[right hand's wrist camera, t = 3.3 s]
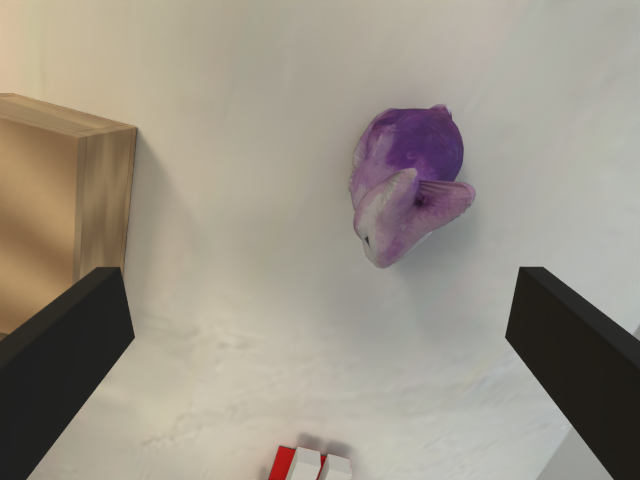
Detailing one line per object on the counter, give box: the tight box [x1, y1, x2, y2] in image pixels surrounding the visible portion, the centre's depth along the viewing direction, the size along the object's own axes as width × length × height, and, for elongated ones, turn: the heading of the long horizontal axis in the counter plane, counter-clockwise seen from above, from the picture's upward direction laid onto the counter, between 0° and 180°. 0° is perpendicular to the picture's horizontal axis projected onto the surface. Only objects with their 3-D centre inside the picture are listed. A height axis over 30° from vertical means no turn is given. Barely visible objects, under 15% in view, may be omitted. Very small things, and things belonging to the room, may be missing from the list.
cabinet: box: [0, 93, 137, 334], centre depth 32 cm, size 17×11×9 cm, turn 165°
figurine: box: [349, 104, 476, 268], centre depth 27 cm, size 9×10×15 cm
